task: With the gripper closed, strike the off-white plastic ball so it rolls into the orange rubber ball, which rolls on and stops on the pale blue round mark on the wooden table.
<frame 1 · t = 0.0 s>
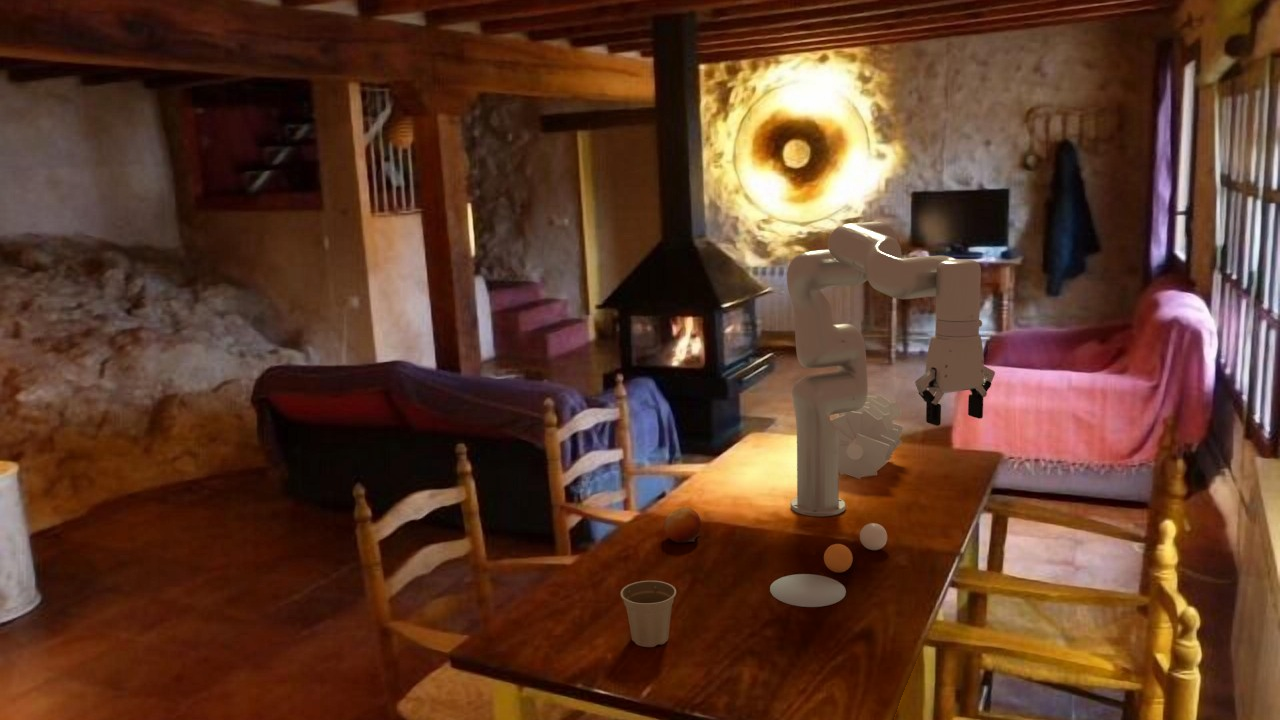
hand: (954, 420, 175), 31 cm above the table, tool pointing down, fingers open, 9 cm apart
orange ball: (838, 558, 186), on the table
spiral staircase: (863, 468, 251), on the table
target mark: (807, 590, 179), on the table
flower pot: (650, 640, 163), on the table
cue ball: (873, 536, 196), on the table
fruit: (682, 540, 206), on the table
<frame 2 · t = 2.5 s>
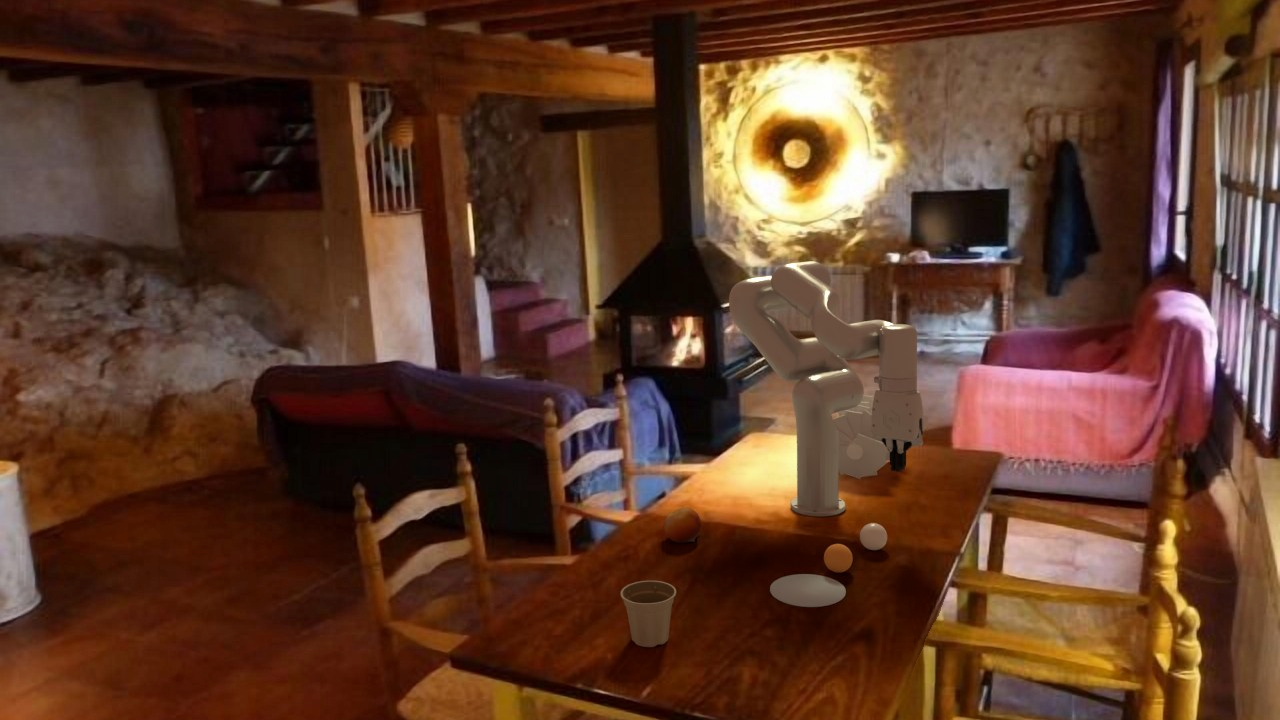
hand: (897, 469, 201), 15 cm above the table, tool pointing down, fingers closed
nothing on the table moved.
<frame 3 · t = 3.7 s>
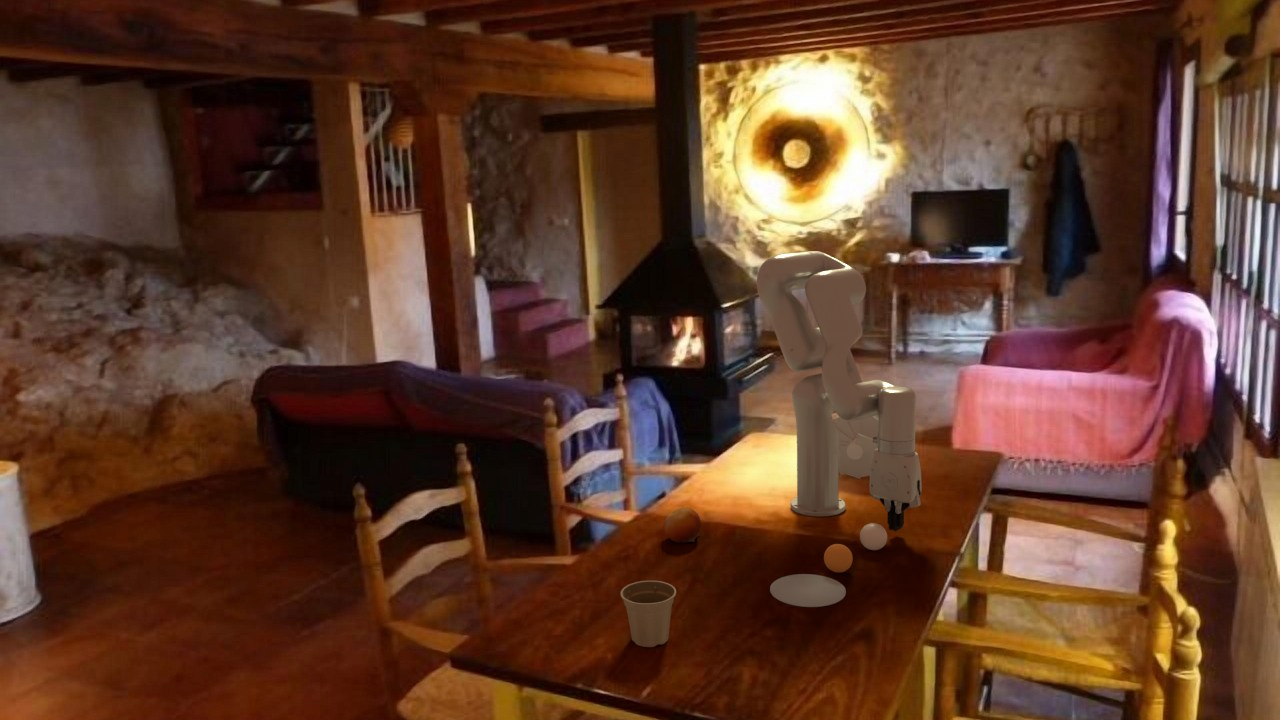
hand: (895, 528, 203), 2 cm above the table, tool pointing down, fingers closed
nothing on the table moved.
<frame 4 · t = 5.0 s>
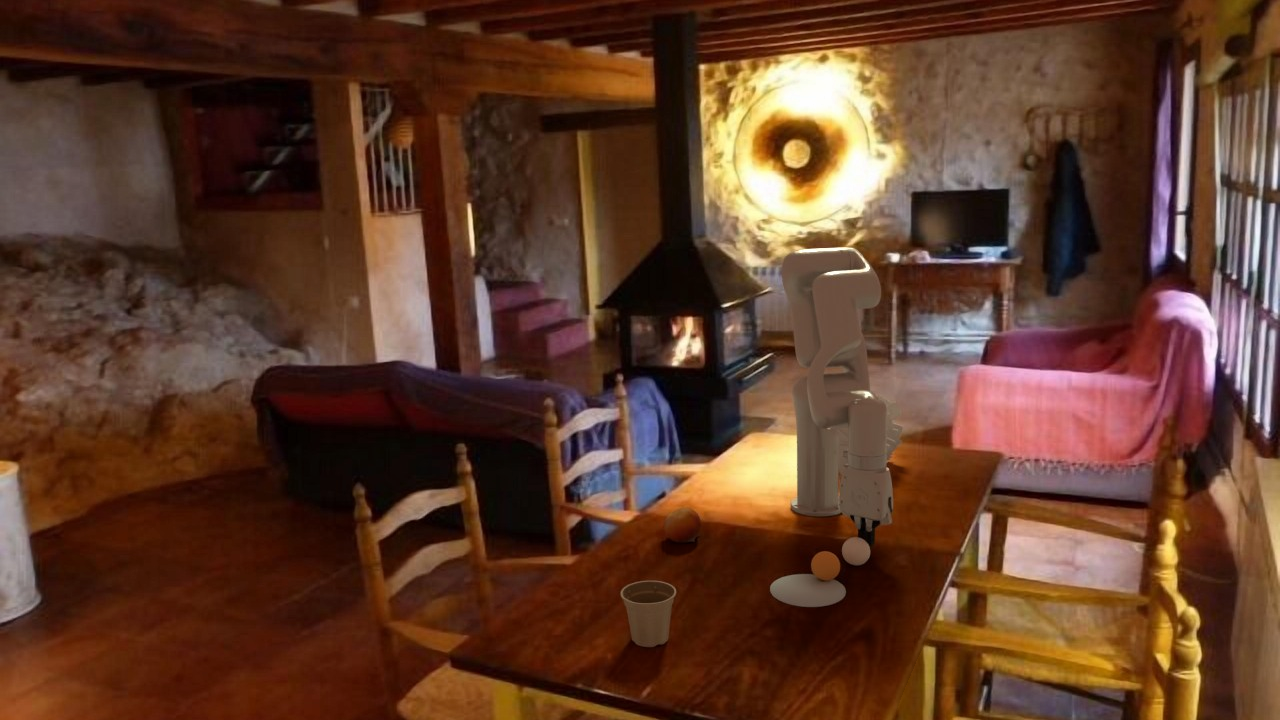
hand: (866, 546, 194), 2 cm above the table, tool pointing down, fingers closed
orange ball: (825, 565, 183), on the table
cue ball: (856, 551, 189), on the table
everything else where it was.
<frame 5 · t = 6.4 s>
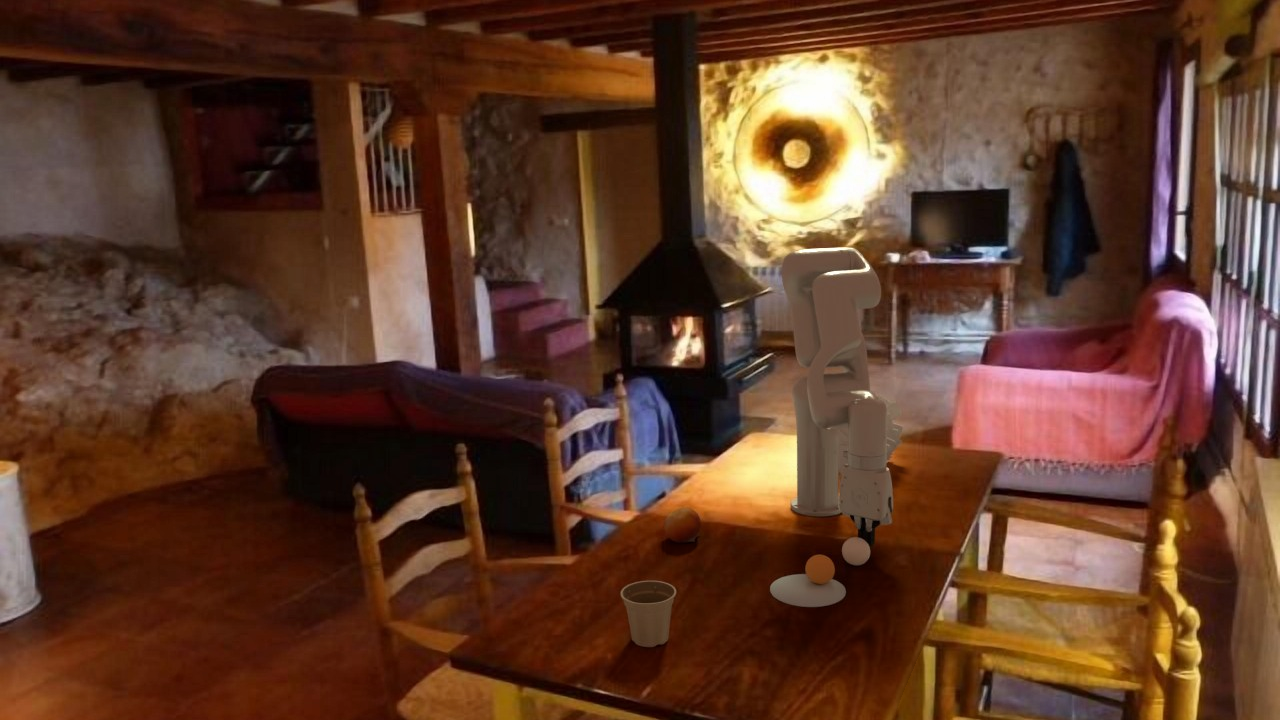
hand: (866, 546, 194), 2 cm above the table, tool pointing down, fingers closed
orange ball: (820, 569, 181), on the table
everything else where it was.
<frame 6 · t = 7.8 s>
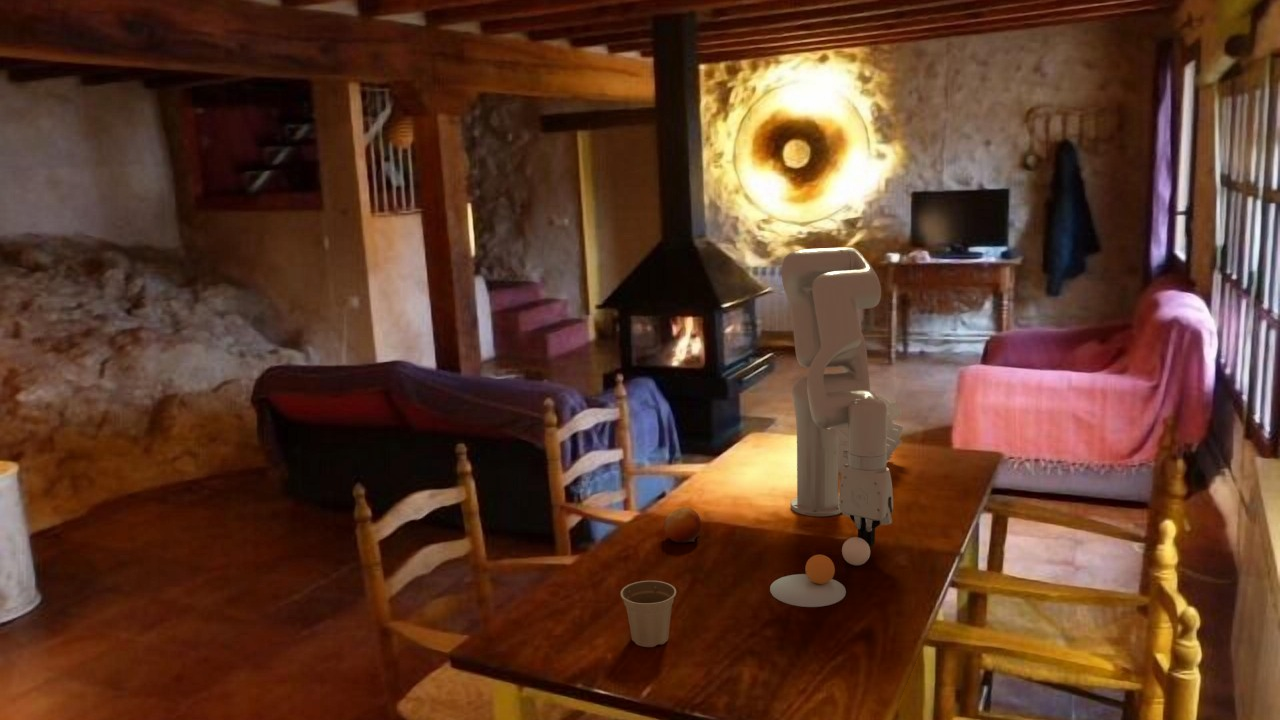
hand: (866, 546, 194), 2 cm above the table, tool pointing down, fingers closed
nothing on the table moved.
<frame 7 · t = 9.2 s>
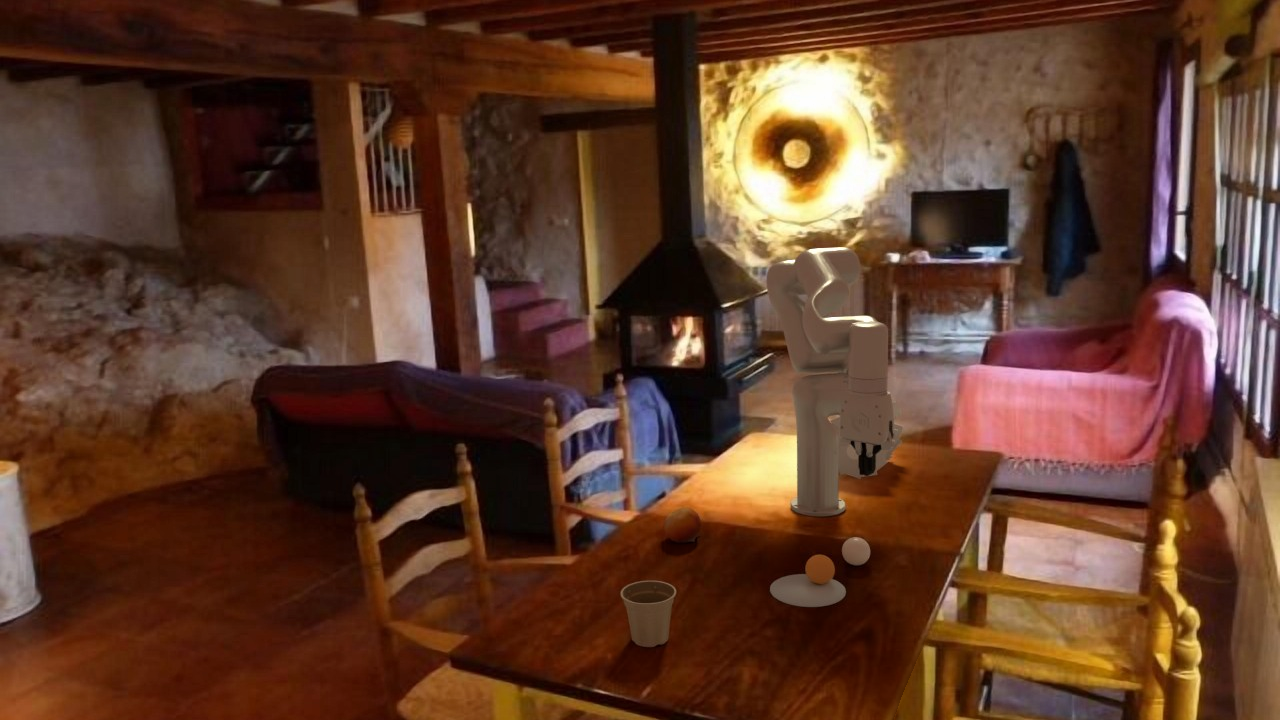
hand: (866, 473, 192), 17 cm above the table, tool pointing down, fingers closed
nothing on the table moved.
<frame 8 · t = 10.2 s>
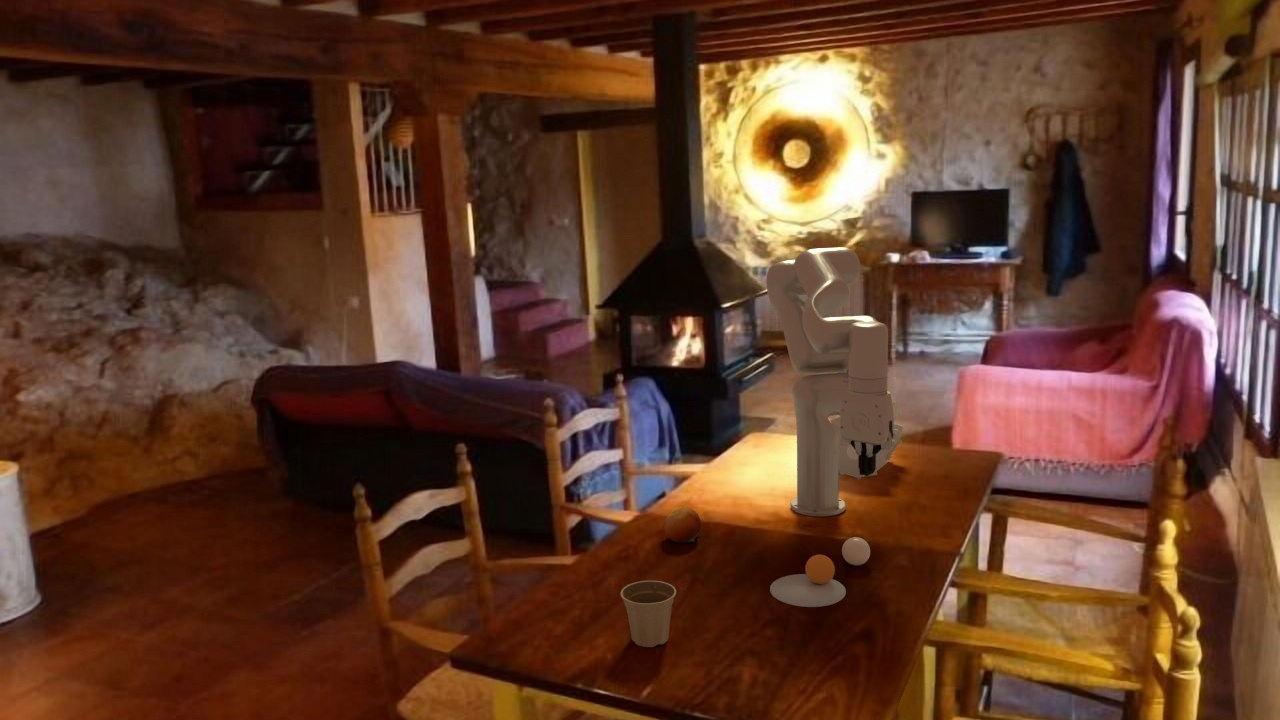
hand: (866, 473, 192), 17 cm above the table, tool pointing down, fingers closed
nothing on the table moved.
at the end: orange ball 4.3 cm from the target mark (horizontally); orange ball never touched the robot; cue ball first touched orange ball at 4.4 s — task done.
